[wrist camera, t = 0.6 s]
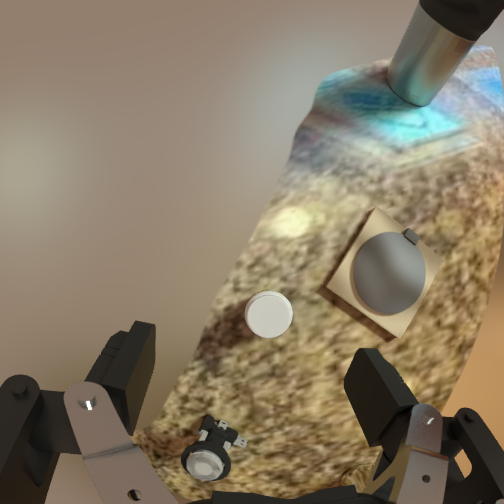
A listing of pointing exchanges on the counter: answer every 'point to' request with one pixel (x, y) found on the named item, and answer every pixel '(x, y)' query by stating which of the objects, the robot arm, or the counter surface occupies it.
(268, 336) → the supplement bottle
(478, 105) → the counter surface
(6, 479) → the robot arm
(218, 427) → the push button
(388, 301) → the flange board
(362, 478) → the beer glass
